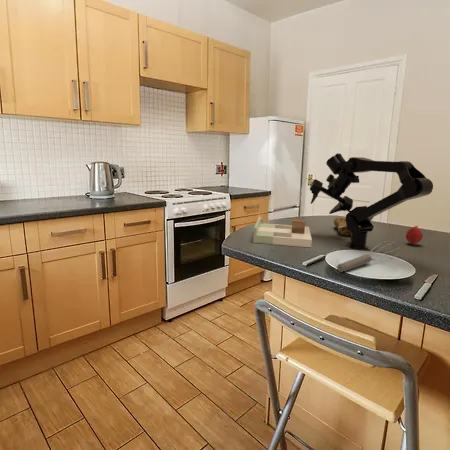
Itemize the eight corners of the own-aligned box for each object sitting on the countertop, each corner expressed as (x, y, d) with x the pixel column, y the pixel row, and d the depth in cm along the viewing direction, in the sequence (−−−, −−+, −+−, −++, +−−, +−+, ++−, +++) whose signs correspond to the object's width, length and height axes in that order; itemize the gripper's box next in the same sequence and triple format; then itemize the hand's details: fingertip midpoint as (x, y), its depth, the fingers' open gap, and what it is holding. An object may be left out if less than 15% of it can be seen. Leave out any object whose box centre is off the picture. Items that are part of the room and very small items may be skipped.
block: (304, 233, 134) (305, 221, 133) (291, 232, 135) (292, 220, 134) (303, 230, 139) (304, 219, 138) (291, 229, 140) (292, 218, 139)
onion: (412, 247, 132) (415, 227, 130) (401, 243, 137) (404, 224, 135) (424, 246, 133) (427, 227, 132) (412, 242, 139) (415, 223, 137)
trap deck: (311, 247, 126) (312, 232, 125) (253, 242, 130) (254, 227, 129) (308, 233, 147) (309, 220, 146) (258, 229, 151) (259, 216, 150)
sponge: (362, 241, 142) (364, 223, 159) (360, 224, 140) (362, 208, 156) (330, 242, 148) (335, 224, 165) (328, 226, 145) (333, 210, 162)
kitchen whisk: (327, 271, 103) (329, 251, 102) (385, 254, 123) (388, 237, 121) (344, 277, 99) (346, 257, 97) (402, 259, 118) (404, 242, 117)
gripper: (362, 183, 139) (340, 207, 150) (324, 161, 139) (304, 187, 150) (361, 198, 132) (338, 223, 143) (320, 175, 131) (300, 201, 142)
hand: (320, 208), depth 145 cm, fingers open, 9 cm apart
